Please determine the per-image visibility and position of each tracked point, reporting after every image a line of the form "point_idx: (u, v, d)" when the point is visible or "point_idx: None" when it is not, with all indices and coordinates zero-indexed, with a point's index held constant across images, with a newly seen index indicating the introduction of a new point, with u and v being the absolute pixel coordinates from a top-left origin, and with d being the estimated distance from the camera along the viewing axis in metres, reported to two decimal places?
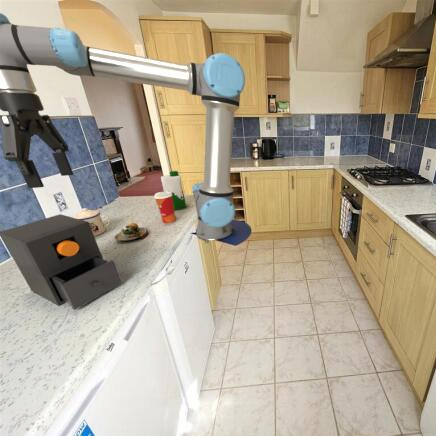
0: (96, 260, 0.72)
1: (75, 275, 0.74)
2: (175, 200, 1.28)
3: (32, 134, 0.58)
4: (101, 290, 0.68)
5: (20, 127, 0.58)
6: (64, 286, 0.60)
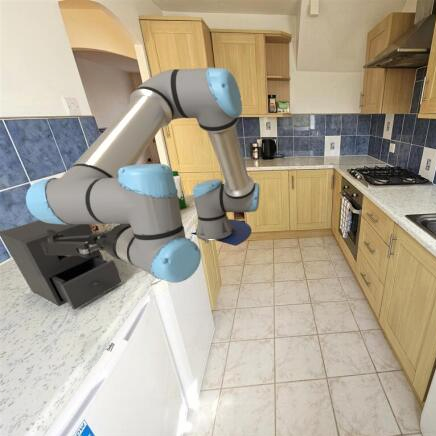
0: (96, 260, 0.72)
1: (75, 275, 0.74)
2: None
3: None
4: (101, 290, 0.68)
5: None
6: (64, 286, 0.60)
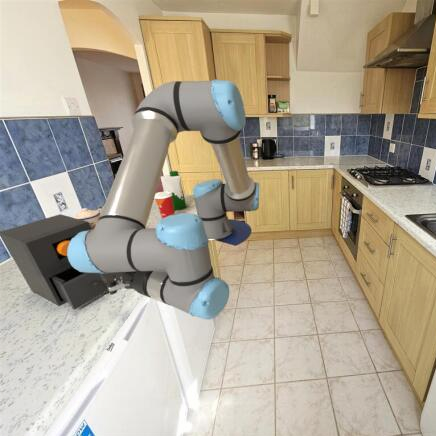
0: None
1: (75, 275, 0.74)
2: (175, 200, 1.28)
3: None
4: (101, 290, 0.68)
5: None
6: (64, 286, 0.60)
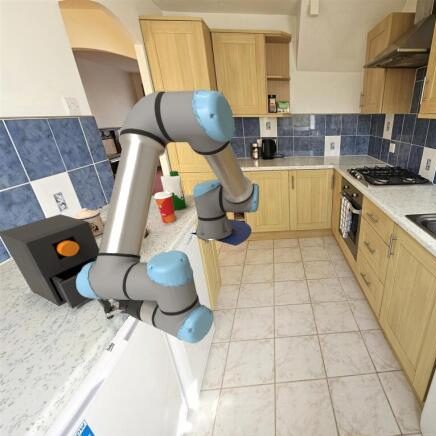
0: (94, 259, 0.72)
1: (73, 274, 0.74)
2: (175, 200, 1.28)
3: None
4: None
5: None
6: (62, 285, 0.61)
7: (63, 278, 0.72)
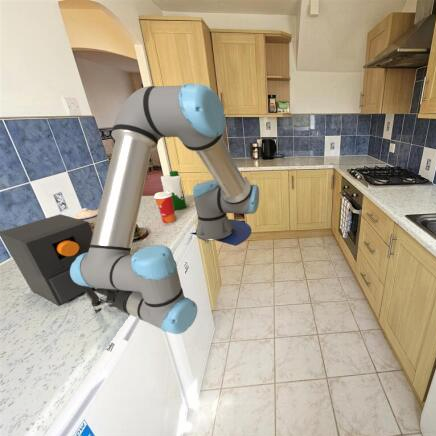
0: None
1: None
2: (175, 200, 1.28)
3: None
4: None
5: None
6: (52, 280, 0.63)
7: None
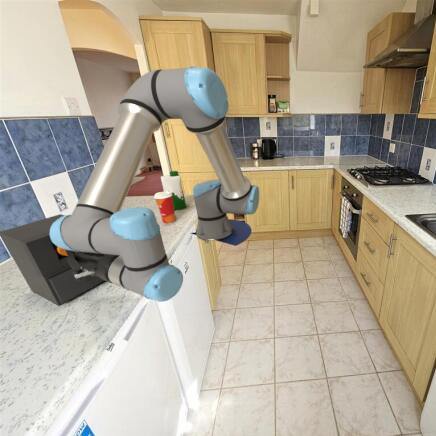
0: None
1: None
2: (175, 200, 1.28)
3: None
4: (89, 285, 0.71)
5: None
6: (52, 280, 0.63)
7: None
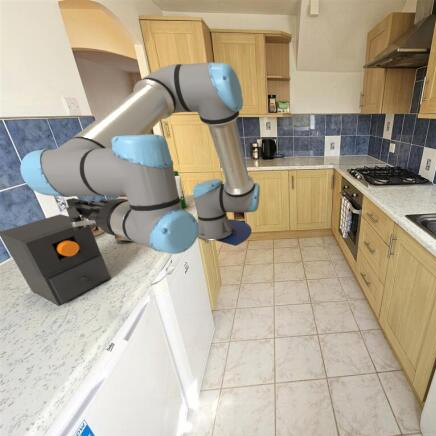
0: None
1: None
2: None
3: (105, 203, 0.52)
4: (89, 285, 0.71)
5: None
6: (52, 280, 0.63)
7: None
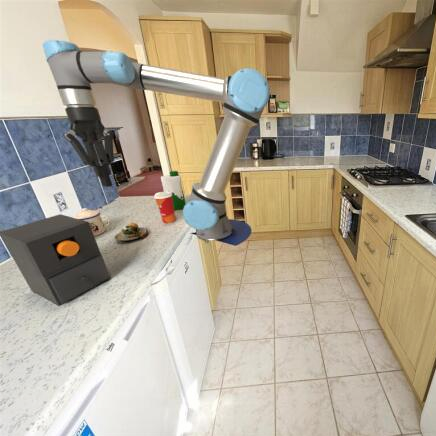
0: None
1: None
2: (175, 200, 1.28)
3: (92, 142, 0.72)
4: (89, 285, 0.71)
5: (78, 135, 0.71)
6: (52, 280, 0.63)
7: None
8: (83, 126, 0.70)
